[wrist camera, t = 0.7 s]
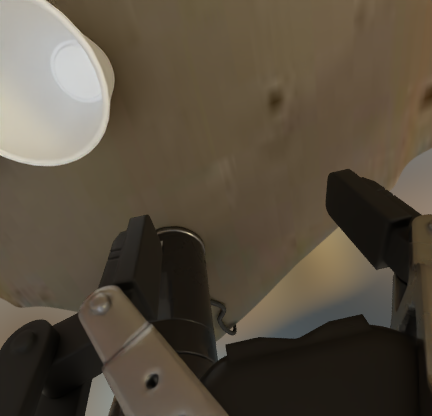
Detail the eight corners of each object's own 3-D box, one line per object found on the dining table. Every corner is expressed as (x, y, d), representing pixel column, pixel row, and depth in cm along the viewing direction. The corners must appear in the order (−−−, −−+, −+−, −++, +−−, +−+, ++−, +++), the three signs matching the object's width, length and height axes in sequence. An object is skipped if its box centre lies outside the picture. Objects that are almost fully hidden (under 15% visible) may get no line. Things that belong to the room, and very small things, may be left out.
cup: (-6, 39, 22) (-141, 33, 12) (91, -17, 20) (20, -69, 11) (74, 141, 27) (19, 188, 18) (154, 101, 26) (140, 129, 17)
